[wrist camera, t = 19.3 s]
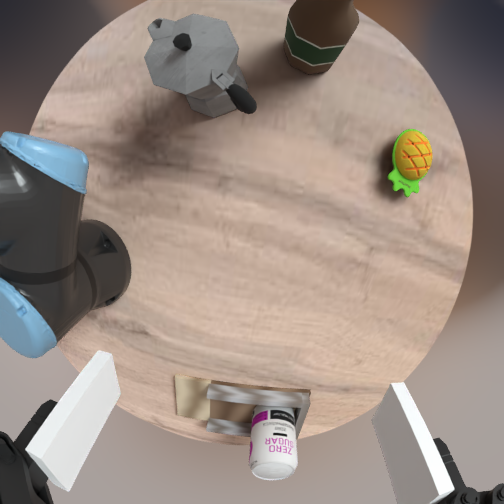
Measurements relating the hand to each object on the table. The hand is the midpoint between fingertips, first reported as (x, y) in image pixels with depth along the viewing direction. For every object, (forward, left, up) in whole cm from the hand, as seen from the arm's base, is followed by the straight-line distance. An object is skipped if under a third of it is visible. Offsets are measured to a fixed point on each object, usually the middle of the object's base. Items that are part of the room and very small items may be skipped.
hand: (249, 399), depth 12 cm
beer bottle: (+4, +28, -32) cm, 43 cm away
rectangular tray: (0, -35, -32) cm, 47 cm away
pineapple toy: (+20, +14, -32) cm, 40 cm away
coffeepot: (-8, +20, -32) cm, 38 cm away
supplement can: (+7, -35, -31) cm, 47 cm away
